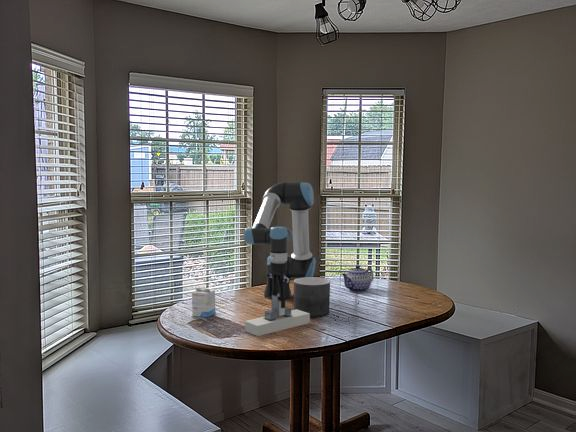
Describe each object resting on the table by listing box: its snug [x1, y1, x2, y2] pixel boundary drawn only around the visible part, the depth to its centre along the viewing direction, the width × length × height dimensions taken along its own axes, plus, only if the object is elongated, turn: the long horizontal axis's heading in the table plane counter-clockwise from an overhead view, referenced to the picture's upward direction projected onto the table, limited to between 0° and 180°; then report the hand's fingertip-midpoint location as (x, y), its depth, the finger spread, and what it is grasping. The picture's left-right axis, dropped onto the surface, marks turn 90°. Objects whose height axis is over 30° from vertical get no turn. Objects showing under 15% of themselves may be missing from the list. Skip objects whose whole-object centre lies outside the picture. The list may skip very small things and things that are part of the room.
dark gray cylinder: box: [293, 276, 331, 318], centre depth 257 cm, size 18×18×16 cm
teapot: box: [341, 264, 374, 293], centre depth 304 cm, size 25×15×15 cm, turn 125°
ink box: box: [191, 287, 216, 318], centre depth 251 cm, size 9×8×13 cm
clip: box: [264, 294, 292, 321], centre depth 232 cm, size 12×4×13 cm, turn 131°
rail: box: [244, 309, 311, 337], centre depth 233 cm, size 30×9×4 cm, turn 131°
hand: (278, 313), depth 233 cm, fingers closed on clip, 4 cm apart
